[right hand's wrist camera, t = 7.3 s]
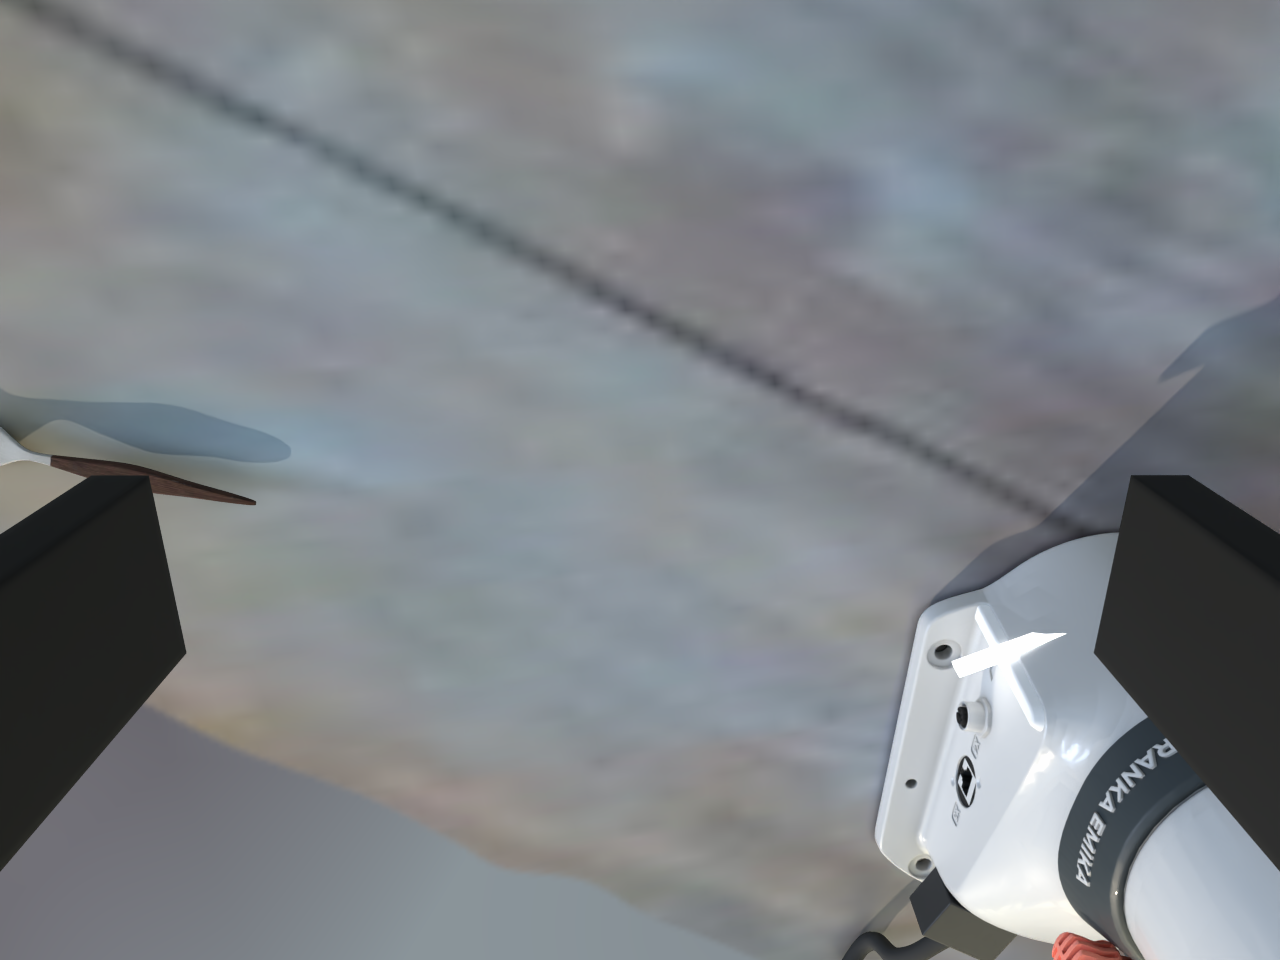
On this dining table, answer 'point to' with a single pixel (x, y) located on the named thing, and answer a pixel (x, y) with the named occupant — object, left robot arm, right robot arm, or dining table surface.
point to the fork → (116, 472)
